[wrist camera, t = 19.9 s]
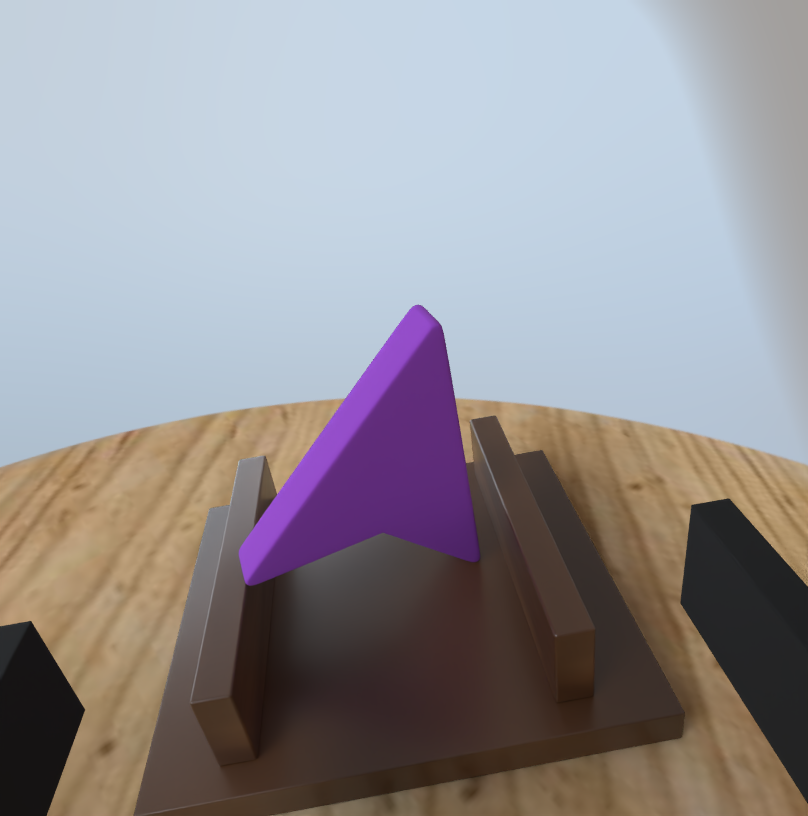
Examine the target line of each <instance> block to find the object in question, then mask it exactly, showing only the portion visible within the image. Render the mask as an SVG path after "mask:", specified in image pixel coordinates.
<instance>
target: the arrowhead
mask: <svg viewBox="0 0 808 816" xmlns="http://www.w3.org/2000/svg"><path fill="white" fill-rule="evenodd" d="M381 533H386V534H389V535H392V536H394V537H397V538H400V539H403V540H406V541H409V542H412V543H415V544H418V545H421V546H424V547H427V548H430V549H433V550H436V551H439V552H442V553H445V554H448V555H451V556H454V557H457V558H460V559H463V560H466V561H470V562H477V561H479V559H480V549H479V543H478V536H477V530H476V523H475V517H474V511H473V505H472V499H471V493H470V486H469V480H468V474H467V468H466V462H465V456H464V450H463V444H462V438H461V432H460V426H459V420H458V414H457V408H456V402H455V396H454V390H453V384H452V378H451V373H450V366H449V360H448V355H447V350H446V343H445V339H444V333H443V330H442V326H441V325H440V323H439V322H438V321H437V320H436V319H435V318H434V317H433V316H432V315H431V314H430V313H429V312H428V311H427V310H426V309H425V308H424V307H423V306H421V305H415V306H413V307H412V308H411V309H410V310H409V312H408V313H407V314H406V315H405V317H404V318H403V320H402V321H401V322H400V323H399V325H398V326H397V327H396V329H395V330H394V332H393V333H392V335H391V336H390V337H389V339H388V340H387V341H386V343H385V344H384V346H383V347H382V348H381V350H380V351H379V353H378V354H377V355H376V357H375V358H374V359H373V361H372V362H371V364H370V365H369V366H368V368H367V369H366V371H365V372H364V373H363V375H362V376H361V378H360V379H359V380H358V382H357V383H356V385H355V386H354V388H353V389H352V390H351V392H350V393H349V394H348V396H347V397H346V399H345V400H344V401H343V403H342V404H341V406H340V407H339V408H338V410H337V411H336V413H335V414H334V416H333V417H332V418H331V420H330V421H329V423H328V424H327V425H326V427H325V428H324V430H323V431H322V432H321V434H320V435H319V437H318V438H317V439H316V441H315V442H314V444H313V445H312V446H311V448H310V449H309V451H308V452H307V453H306V455H305V456H304V458H303V459H302V461H301V462H300V463H299V465H298V466H297V468H296V469H295V470H294V472H293V473H292V475H291V476H290V477H289V479H288V480H287V482H286V483H285V484H284V486H283V487H282V489H281V490H280V492H279V493H278V494H277V496H276V497H275V499H274V500H273V501H272V503H271V504H270V506H269V507H268V508H267V510H266V511H265V513H264V514H263V516H262V517H261V518H260V520H259V521H258V523H257V524H256V526H255V527H254V528H253V530H252V531H251V533H250V534H249V536H248V537H247V538H246V540H245V541H244V543H243V544H242V546H241V548H240V549H239V558H240V563H241V567H242V572H243V576H244V580H245V583H246V584H247V585H256V584H259V583H262V582H264V581H267V580H269V579H272V578H274V577H277V576H279V575H282V574H284V573H286V572H289V571H291V570H294V569H296V568H299V567H301V566H304V565H306V564H308V563H311V562H313V561H316V560H318V559H320V558H323V557H325V556H328V555H330V554H333V553H335V552H337V551H340V550H342V549H345V548H347V547H349V546H352V545H354V544H357V543H359V542H362V541H364V540H366V539H369V538H371V537H374V536H376V535H378V534H381Z"/></svg>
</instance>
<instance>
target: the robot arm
mask: <svg viewBox="0 0 808 816" xmlns="http://www.w3.org/2000/svg"><path fill="white" fill-rule="evenodd" d="M681 605H682V606H683V608H684V609H685V611H686V613H687V614H688V616H689V617H690V619H691V620H692V622H693V624H694V625H695V627H696V628H697V630H698V631H699V633H700V635H701V636H702V638H703V639H704V641H705V642H706V644H707V646H708V647H709V649H710V650H711V652H712V654H713V655H714V657H715V658H716V660H717V661H718V663H719V665H720V666H721V668H722V669H723V671H724V672H725V674H726V676H727V677H728V679H729V680H730V682H731V683H732V685H733V687H734V688H735V690H736V691H737V693H738V694H739V696H740V698H741V699H742V701H743V702H744V704H745V705H746V707H747V709H748V710H749V712H750V713H751V715H752V716H753V718H754V720H755V721H756V723H757V724H758V726H759V727H760V729H761V731H762V732H763V734H764V735H765V737H766V739H767V740H768V742H769V743H770V745H771V746H772V748H773V750H774V751H775V753H776V754H777V756H778V757H779V759H780V761H781V762H782V764H783V765H784V767H785V768H786V770H787V772H788V773H789V775H790V776H791V778H792V779H793V781H794V783H795V784H796V786H797V787H798V789H799V790H800V792H801V794H802V795H803V797H804V798H805V800H806V801H807V803H808V586H807V585H806V584H805V583H804V582H803V581H802V580H801V579H800V577H799V576H798V575H797V574H796V573H795V572H794V571H793V570H792V569H791V567H790V566H789V565H788V564H787V563H786V562H785V561H784V560H783V558H782V557H781V556H780V555H779V554H778V553H777V552H776V551H775V549H774V548H773V547H772V546H771V545H770V544H769V543H768V542H767V540H766V539H765V538H764V537H763V536H762V535H761V534H760V533H759V531H758V530H757V529H756V528H755V527H754V526H753V525H752V524H751V522H750V521H749V520H748V519H747V518H746V517H745V516H744V515H743V513H742V512H741V511H740V510H739V509H738V508H737V507H736V506H735V504H734V503H733V502H732V501H731V500H730V499H723V500H717V501H712V502H706V503H700V504H695V505H692V506H691V515H690V523H689V532H688V541H687V550H686V559H685V567H684V576H683V585H682V594H681ZM84 712H85V709H84V707H83V706H82V704H81V702H80V701H79V699H78V697H77V696H76V694H75V692H74V691H73V689H72V687H71V686H70V684H69V683H68V681H67V679H66V678H65V676H64V674H63V673H62V671H61V669H60V668H59V666H58V665H57V663H56V661H55V660H54V658H53V656H52V655H51V653H50V651H49V650H48V648H47V646H46V645H45V643H44V642H43V640H42V638H41V637H40V635H39V633H38V632H37V630H36V628H35V627H34V625H33V624H32V622H31V621H28V622H23V623H17V624H11V625H6V626H0V816H47V813H48V810H49V808H50V805H51V802H52V799H53V797H54V794H55V791H56V788H57V786H58V783H59V780H60V777H61V775H62V772H63V769H64V766H65V764H66V761H67V758H68V755H69V753H70V750H71V747H72V744H73V742H74V739H75V736H76V734H77V731H78V728H79V725H80V723H81V720H82V717H83V714H84Z"/></svg>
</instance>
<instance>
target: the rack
mask: <svg viewBox="0 0 808 816" xmlns="http://www.w3.org/2000/svg"><path fill="white" fill-rule="evenodd" d="M470 429H471V439H472V450H473V460H474V462H471V463H466V468H467V474H468V480H469V486H470V493H471V499H472V505H473V511H474V517H475V523H476V530H477V536H478V543H479V549H480V559H479V561H477V562H470V561H466V560H463V559H460V558H457V557H454V556H451V555H448V554H445V553H442V552H439V551H436V550H433V549H430V548H427V547H424V546H421V545H418V544H415V543H412V542H409V541H406V540H403V539H400V538H397V537H394V536H392V535H389V534H386V533H381V534H378V535H376V536H374V537H371V538H369V539H366V540H364V541H362V542H359V543H357V544H354V545H352V546H349V547H347V548H345V549H342V550H340V551H337V552H335V553H333V554H330V555H328V556H325V557H323V558H320V559H318V560H316V561H313V562H311V563H308V564H306V565H304V566H301V567H299V568H296V569H294V570H291V571H289V572H286V573H284V574H282V575H279V576H277V577H274V578H272V579H269V580H267V581H264V582H262V583H259V584H256V585H247V584H246V583H245V580H244V576H243V572H242V567H241V563H240V558H239V549H240V548H241V546H242V544H243V543H244V541H245V540H246V538H247V537H248V536H249V534H250V533H251V531H252V530H253V528H254V527H255V526H256V524H257V523H258V521H259V520H260V518H261V517H262V516H263V514H264V513H265V511H266V510H267V508H268V507H269V506H270V504H271V503H272V501H273V500H274V499H275V497H276V496H277V493H276V489H275V486H274V483H273V479H272V476H271V472H270V469H269V466H268V462H267V459H266V457H265V456H259V457H253V458H248V459H242V460H239V463H238V468H237V473H236V478H235V483H234V487H233V492H232V497H231V502H230V505H226V506H221V507H215V508H210V509H209V512H208V516H207V520H206V524H205V528H204V532H203V536H202V540H201V544H200V548H199V553H198V557H197V561H196V565H195V569H194V573H193V577H192V581H191V585H190V589H189V593H188V597H187V601H186V605H185V609H184V613H183V617H182V621H181V625H180V629H179V633H178V638H177V642H176V646H175V650H174V654H173V658H172V662H171V666H170V670H169V674H168V678H167V682H166V686H165V690H164V694H163V698H162V702H161V706H160V710H159V714H158V718H157V723H156V727H155V731H154V735H153V739H152V743H151V747H150V751H149V755H148V759H147V763H146V767H145V771H144V775H143V779H142V783H141V787H140V791H139V795H138V799H137V803H136V808H135V812H134V816H270V815H275V814H280V813H286V812H291V811H296V810H302V809H307V808H312V807H317V806H323V805H328V804H333V803H338V802H344V801H349V800H354V799H360V798H365V797H370V796H375V795H381V794H386V793H391V792H396V791H402V790H407V789H412V788H418V787H423V786H428V785H433V784H439V783H444V782H449V781H454V780H460V779H465V778H470V777H476V776H481V775H486V774H491V773H497V772H502V771H507V770H513V769H518V768H523V767H528V766H534V765H539V764H544V763H549V762H555V761H560V760H565V759H571V758H576V757H581V756H586V755H592V754H597V753H602V752H607V751H613V750H618V749H623V748H629V747H634V746H639V745H644V744H650V743H655V742H660V741H665V740H671V739H676V738H681V737H682V732H683V724H684V717H685V712H684V710H683V708H682V707H681V705H680V703H679V701H678V699H677V697H676V696H675V694H674V692H673V690H672V688H671V686H670V684H669V683H668V681H667V679H666V677H665V675H664V673H663V672H662V670H661V668H660V666H659V664H658V662H657V661H656V659H655V657H654V655H653V653H652V651H651V649H650V648H649V646H648V644H647V642H646V640H645V638H644V637H643V635H642V633H641V631H640V629H639V627H638V626H637V624H636V622H635V620H634V618H633V616H632V614H631V613H630V611H629V609H628V607H627V605H626V603H625V602H624V600H623V598H622V596H621V594H620V592H619V591H618V589H617V587H616V585H615V583H614V581H613V579H612V578H611V576H610V574H609V572H608V570H607V568H606V567H605V565H604V563H603V561H602V559H601V557H600V556H599V554H598V552H597V550H596V548H595V546H594V544H593V543H592V541H591V539H590V537H589V535H588V533H587V532H586V530H585V528H584V526H583V524H582V522H581V521H580V519H579V517H578V515H577V513H576V511H575V509H574V508H573V506H572V504H571V502H570V500H569V498H568V497H567V495H566V493H565V491H564V489H563V487H562V486H561V484H560V482H559V480H558V478H557V476H556V474H555V473H554V471H553V469H552V467H551V465H550V463H549V462H548V460H547V458H546V456H545V454H544V452H543V451H542V450H540V451H534V452H528V453H522V454H517V455H514V453H513V451H512V449H511V447H510V445H509V443H508V441H507V438H506V436H505V434H504V432H503V430H502V428H501V426H500V423H499V421H498V419H497V417H496V416H489V417H484V418H478V419H472V420H470Z"/></svg>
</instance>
